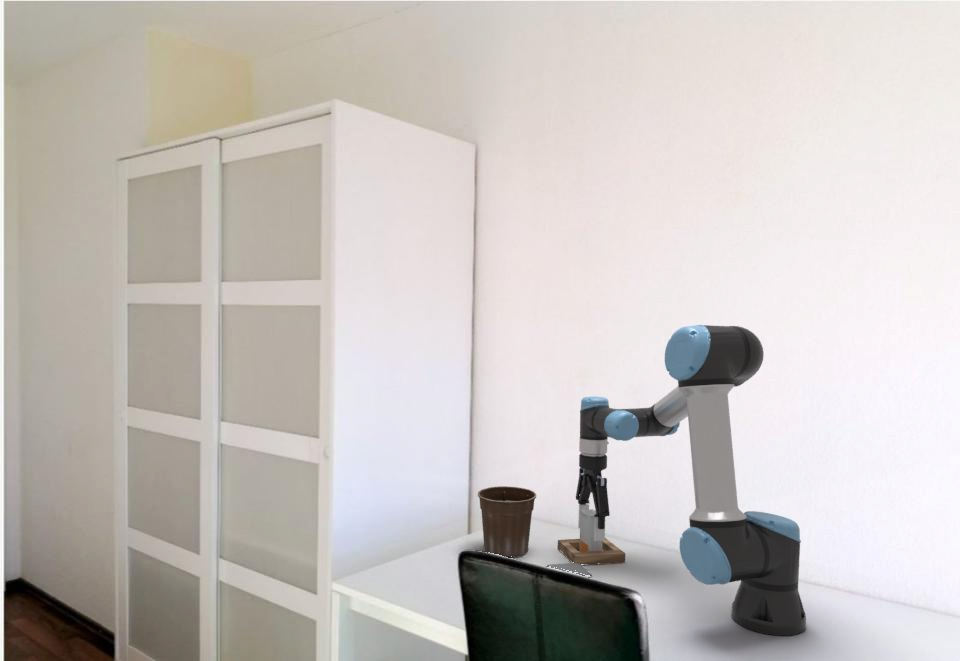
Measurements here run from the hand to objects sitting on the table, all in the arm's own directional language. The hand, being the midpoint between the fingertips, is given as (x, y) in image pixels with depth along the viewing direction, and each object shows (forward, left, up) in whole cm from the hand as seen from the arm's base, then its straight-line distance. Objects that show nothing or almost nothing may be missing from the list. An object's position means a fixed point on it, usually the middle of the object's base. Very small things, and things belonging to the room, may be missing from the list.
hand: (591, 533), depth 202 cm
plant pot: (+7, +22, -6) cm, 24 cm away
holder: (0, 0, -6) cm, 6 cm away
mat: (-11, +10, -6) cm, 16 cm away
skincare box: (0, 0, -6) cm, 6 cm away
